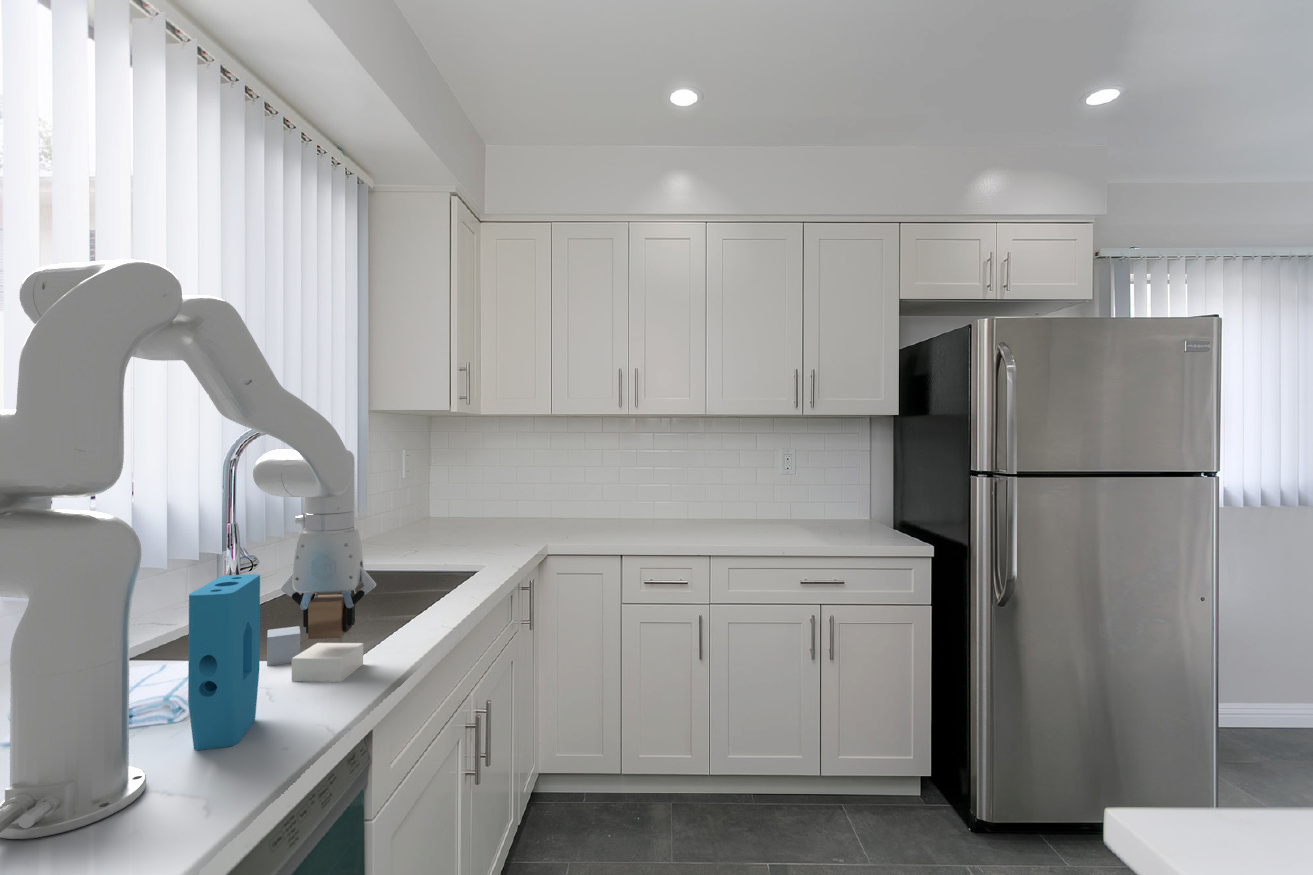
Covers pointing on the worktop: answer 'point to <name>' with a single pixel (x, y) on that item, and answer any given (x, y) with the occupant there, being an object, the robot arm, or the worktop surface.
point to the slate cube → (282, 645)
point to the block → (223, 660)
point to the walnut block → (326, 617)
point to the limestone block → (327, 662)
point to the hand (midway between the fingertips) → (329, 629)
